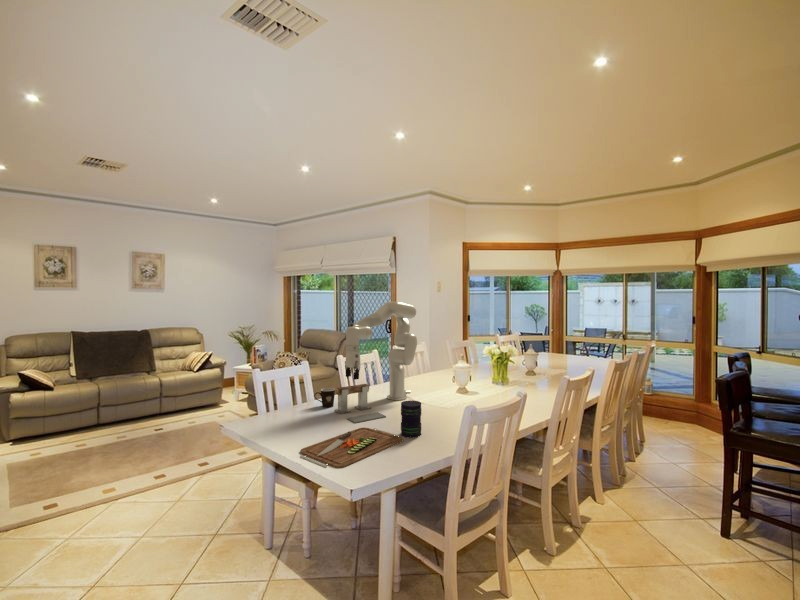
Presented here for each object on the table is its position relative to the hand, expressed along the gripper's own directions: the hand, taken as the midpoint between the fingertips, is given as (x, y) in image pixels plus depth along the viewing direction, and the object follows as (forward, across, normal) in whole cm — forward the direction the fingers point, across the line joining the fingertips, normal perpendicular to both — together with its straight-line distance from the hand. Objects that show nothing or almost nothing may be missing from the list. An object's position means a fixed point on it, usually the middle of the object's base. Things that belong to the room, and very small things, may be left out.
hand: (352, 377), depth 235 cm
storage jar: (+19, -52, -5) cm, 55 cm away
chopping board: (+20, -50, +25) cm, 59 cm away
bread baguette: (+9, 0, -1) cm, 9 cm away
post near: (+19, 0, +6) cm, 20 cm away
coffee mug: (+19, +16, +9) cm, 27 cm away
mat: (+19, -18, 0) cm, 26 cm away
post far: (+18, 0, -7) cm, 20 cm away
